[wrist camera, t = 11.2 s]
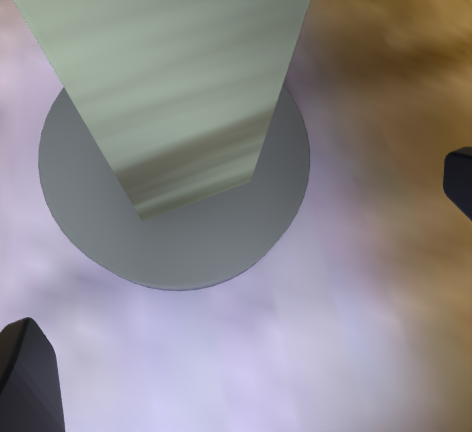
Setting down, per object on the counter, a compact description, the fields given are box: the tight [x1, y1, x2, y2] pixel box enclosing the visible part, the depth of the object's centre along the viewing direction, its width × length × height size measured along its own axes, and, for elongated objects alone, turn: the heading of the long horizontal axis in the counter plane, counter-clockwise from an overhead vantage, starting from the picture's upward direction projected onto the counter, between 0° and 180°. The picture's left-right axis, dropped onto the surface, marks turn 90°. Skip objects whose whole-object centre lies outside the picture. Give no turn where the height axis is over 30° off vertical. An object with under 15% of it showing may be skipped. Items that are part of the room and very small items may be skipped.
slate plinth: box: [38, 85, 310, 291], centre depth 20 cm, size 12×12×3 cm
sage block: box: [13, 0, 310, 221], centre depth 12 cm, size 5×5×13 cm
